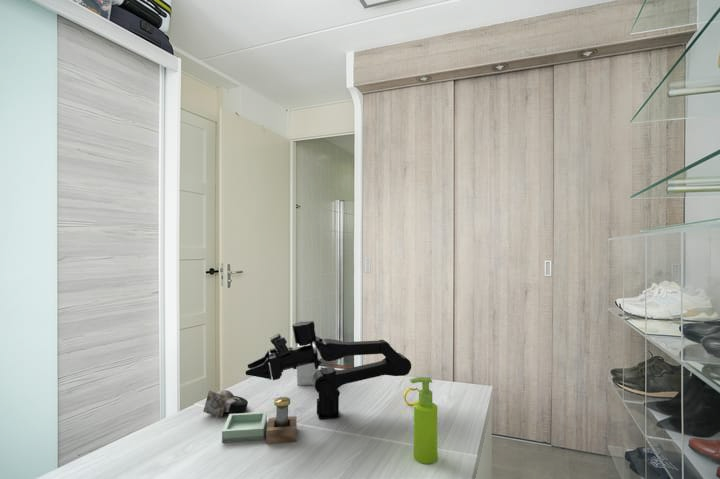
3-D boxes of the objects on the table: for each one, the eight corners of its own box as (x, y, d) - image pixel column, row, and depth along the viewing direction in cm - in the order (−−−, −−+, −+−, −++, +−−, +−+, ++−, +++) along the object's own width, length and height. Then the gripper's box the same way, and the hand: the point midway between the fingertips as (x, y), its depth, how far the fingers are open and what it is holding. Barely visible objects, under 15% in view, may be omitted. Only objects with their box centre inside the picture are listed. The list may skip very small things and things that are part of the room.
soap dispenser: (407, 452, 101) (407, 374, 101) (433, 451, 101) (433, 374, 102) (412, 464, 95) (412, 382, 95) (440, 463, 95) (440, 382, 96)
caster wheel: (248, 414, 128) (233, 423, 119) (219, 404, 131) (201, 412, 121) (254, 394, 129) (239, 401, 120) (224, 384, 132) (208, 390, 122)
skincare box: (318, 380, 155) (319, 342, 155) (317, 385, 149) (317, 346, 149) (297, 380, 155) (298, 342, 155) (295, 385, 149) (296, 346, 149)
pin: (290, 431, 112) (290, 396, 112) (289, 439, 107) (290, 402, 107) (274, 432, 111) (274, 397, 111) (273, 440, 107) (273, 403, 107)
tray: (266, 421, 118) (266, 411, 118) (263, 439, 107) (263, 428, 107) (229, 424, 116) (229, 414, 116) (221, 442, 105) (222, 431, 105)
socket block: (296, 428, 114) (296, 416, 114) (296, 441, 106) (296, 428, 106) (268, 430, 112) (268, 417, 112) (266, 443, 104) (266, 430, 105)
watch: (419, 403, 133) (420, 385, 133) (422, 406, 130) (423, 388, 131) (402, 402, 132) (403, 385, 133) (404, 406, 130) (406, 388, 130)
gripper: (291, 328, 131) (244, 339, 127) (294, 335, 113) (239, 348, 109) (297, 361, 130) (250, 373, 126) (301, 373, 112) (246, 387, 108)
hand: (246, 369), depth 117 cm, fingers open, 9 cm apart
